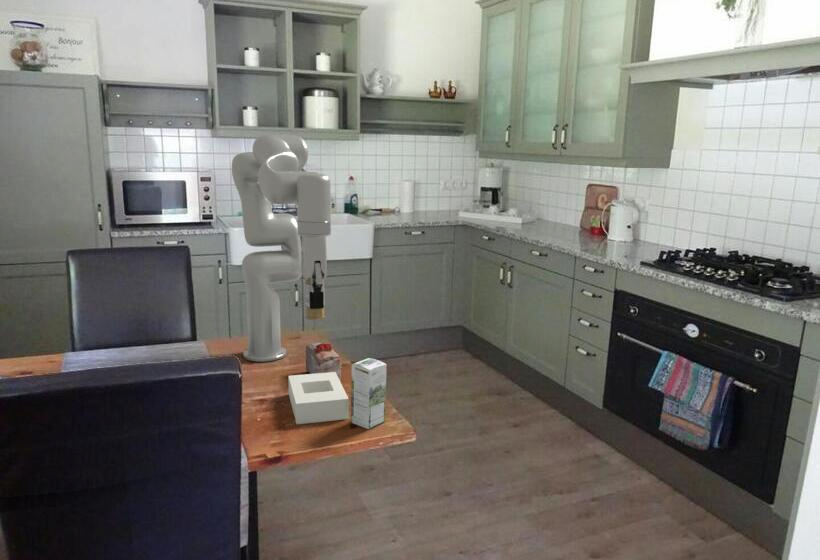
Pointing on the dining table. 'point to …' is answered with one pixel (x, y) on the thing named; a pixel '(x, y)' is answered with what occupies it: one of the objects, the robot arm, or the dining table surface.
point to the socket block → (318, 398)
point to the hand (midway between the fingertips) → (315, 304)
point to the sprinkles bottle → (310, 313)
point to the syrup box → (368, 393)
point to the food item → (322, 359)
